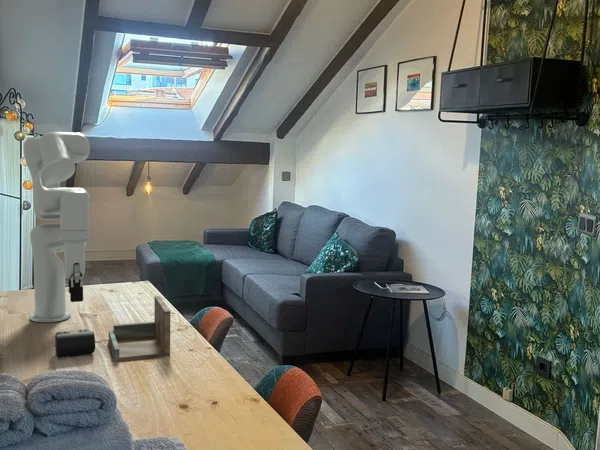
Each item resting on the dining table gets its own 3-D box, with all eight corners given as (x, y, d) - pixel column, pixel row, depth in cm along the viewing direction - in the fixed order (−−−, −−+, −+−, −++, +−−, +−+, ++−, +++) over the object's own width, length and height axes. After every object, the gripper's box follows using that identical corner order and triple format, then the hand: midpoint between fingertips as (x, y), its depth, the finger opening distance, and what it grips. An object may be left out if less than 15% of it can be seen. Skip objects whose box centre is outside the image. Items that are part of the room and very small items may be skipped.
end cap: (57, 362, 165) (56, 338, 164) (53, 354, 172) (53, 330, 171) (95, 357, 170) (95, 333, 169) (91, 349, 176) (90, 326, 175)
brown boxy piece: (108, 341, 184) (108, 298, 182) (159, 336, 189) (159, 295, 188) (114, 361, 167) (114, 315, 166) (170, 356, 173) (170, 311, 171)
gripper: (59, 231, 173) (60, 290, 175) (61, 240, 157) (62, 305, 159) (87, 231, 176) (87, 289, 178) (92, 240, 160) (92, 303, 162)
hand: (75, 297), depth 169 cm, fingers open, 9 cm apart
